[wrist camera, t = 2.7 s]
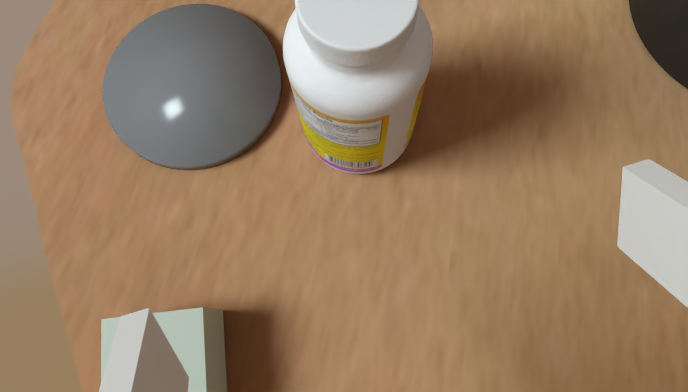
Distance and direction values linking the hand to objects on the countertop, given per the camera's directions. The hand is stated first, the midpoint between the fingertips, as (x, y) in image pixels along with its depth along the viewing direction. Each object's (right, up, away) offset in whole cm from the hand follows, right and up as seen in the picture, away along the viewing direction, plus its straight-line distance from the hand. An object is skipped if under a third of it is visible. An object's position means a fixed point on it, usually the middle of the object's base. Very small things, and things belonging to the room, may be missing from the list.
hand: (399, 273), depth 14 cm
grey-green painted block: (-11, -7, +14) cm, 19 cm away
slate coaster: (-11, +9, +18) cm, 23 cm away
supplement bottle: (-1, +6, +18) cm, 19 cm away
